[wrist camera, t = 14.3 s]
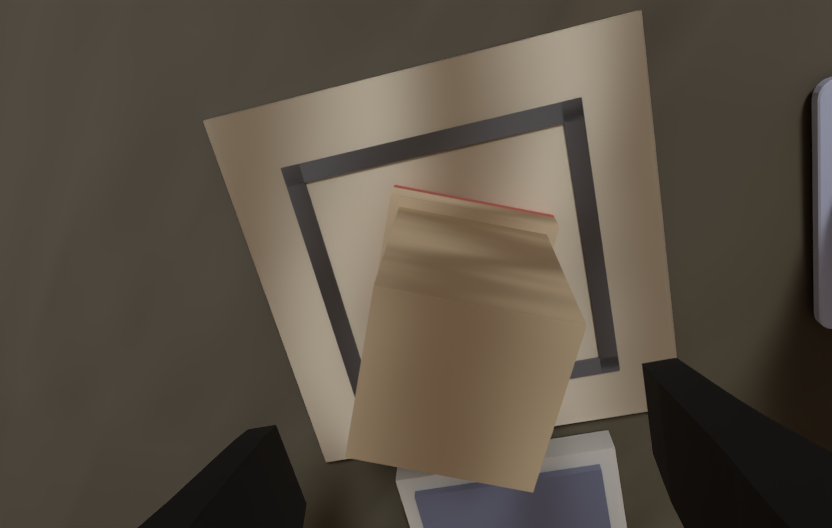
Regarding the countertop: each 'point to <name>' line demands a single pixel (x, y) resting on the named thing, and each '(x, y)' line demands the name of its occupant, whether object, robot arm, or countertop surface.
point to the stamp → (465, 341)
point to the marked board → (468, 178)
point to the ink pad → (525, 492)
